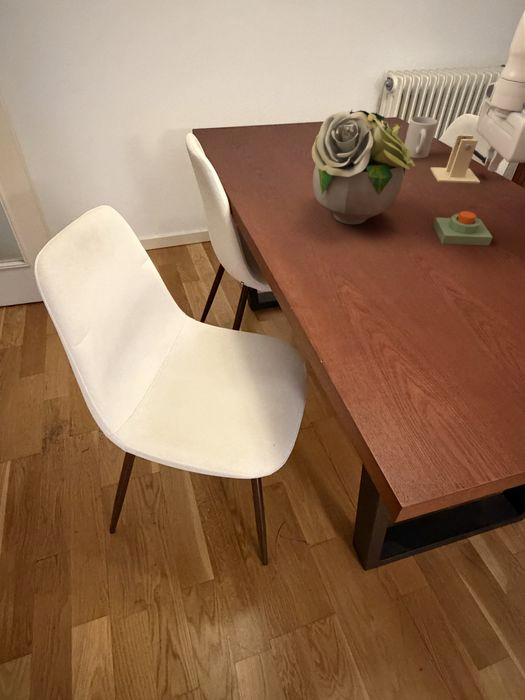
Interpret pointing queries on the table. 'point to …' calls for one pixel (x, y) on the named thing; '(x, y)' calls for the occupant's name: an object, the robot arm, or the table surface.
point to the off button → (466, 217)
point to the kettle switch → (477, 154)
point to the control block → (461, 231)
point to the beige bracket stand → (458, 162)
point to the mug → (420, 136)
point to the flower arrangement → (358, 165)
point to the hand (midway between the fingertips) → (489, 168)
